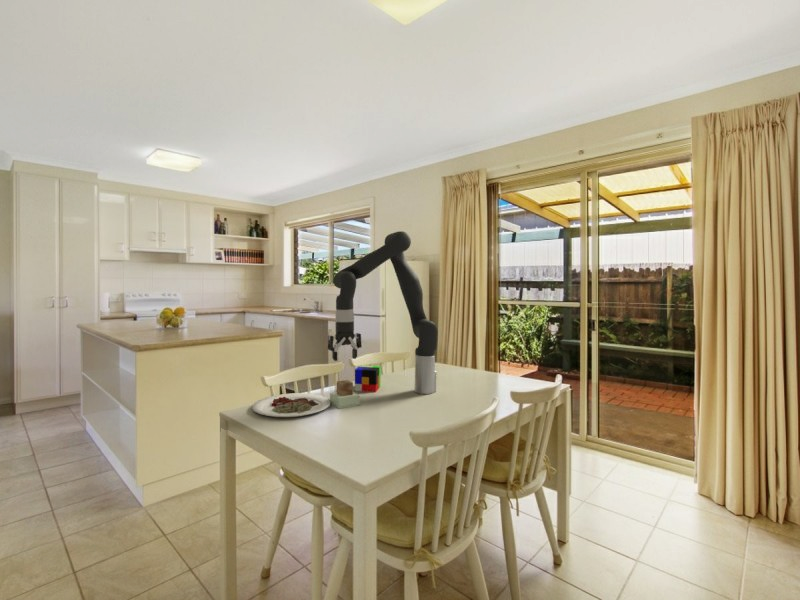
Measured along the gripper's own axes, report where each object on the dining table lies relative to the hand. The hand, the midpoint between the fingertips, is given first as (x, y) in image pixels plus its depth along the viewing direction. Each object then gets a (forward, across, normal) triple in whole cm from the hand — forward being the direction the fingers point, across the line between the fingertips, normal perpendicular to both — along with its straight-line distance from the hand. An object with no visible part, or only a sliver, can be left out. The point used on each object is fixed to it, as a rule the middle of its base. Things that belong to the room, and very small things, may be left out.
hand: (344, 359), depth 168 cm
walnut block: (+14, 0, 0) cm, 15 cm away
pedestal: (+18, 0, 0) cm, 19 cm away
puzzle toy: (+19, -20, -16) cm, 32 cm away
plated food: (+19, +20, -6) cm, 28 cm away
